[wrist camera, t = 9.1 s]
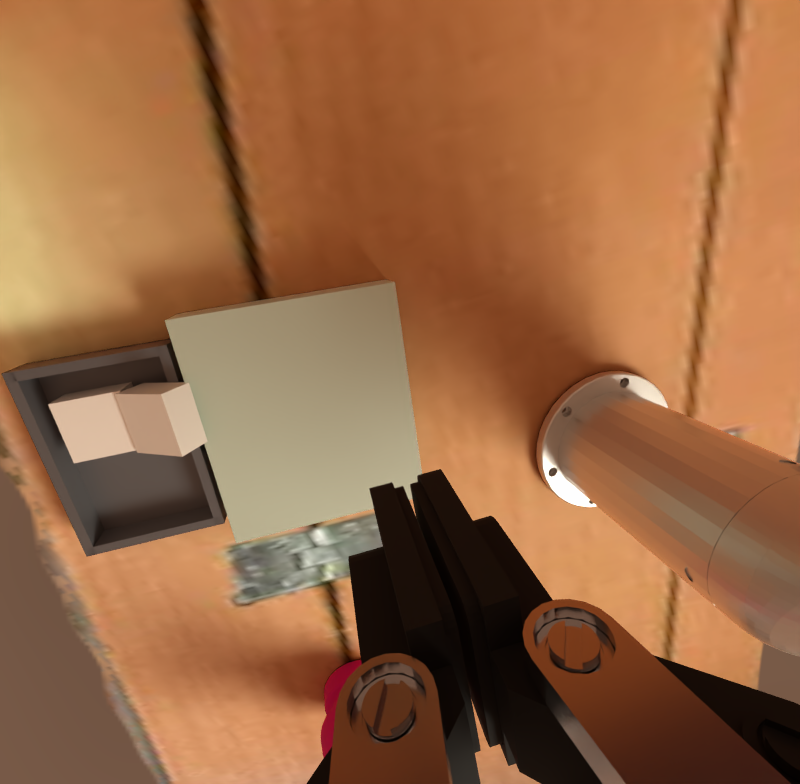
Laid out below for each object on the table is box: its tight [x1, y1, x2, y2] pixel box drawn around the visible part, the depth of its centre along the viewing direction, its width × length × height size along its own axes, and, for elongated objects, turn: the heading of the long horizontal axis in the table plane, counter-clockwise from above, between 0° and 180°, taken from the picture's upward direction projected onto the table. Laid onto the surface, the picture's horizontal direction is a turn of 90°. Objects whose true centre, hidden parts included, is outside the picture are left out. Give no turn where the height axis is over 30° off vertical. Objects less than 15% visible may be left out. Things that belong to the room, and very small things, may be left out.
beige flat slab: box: [165, 279, 422, 543], centre depth 31 cm, size 14×16×3 cm
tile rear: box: [48, 382, 136, 463], centre depth 28 cm, size 4×4×2 cm
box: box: [2, 339, 227, 556], centre depth 29 cm, size 9×13×2 cm
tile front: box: [115, 382, 208, 457], centre depth 27 cm, size 4×4×2 cm
